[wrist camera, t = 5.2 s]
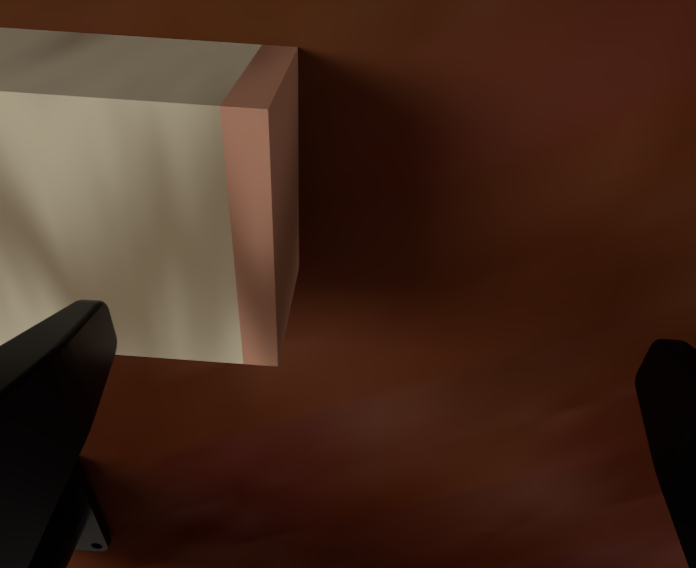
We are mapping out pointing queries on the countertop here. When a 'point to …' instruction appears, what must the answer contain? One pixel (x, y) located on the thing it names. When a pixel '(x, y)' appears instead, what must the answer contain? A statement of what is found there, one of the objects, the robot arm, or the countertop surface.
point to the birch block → (151, 190)
